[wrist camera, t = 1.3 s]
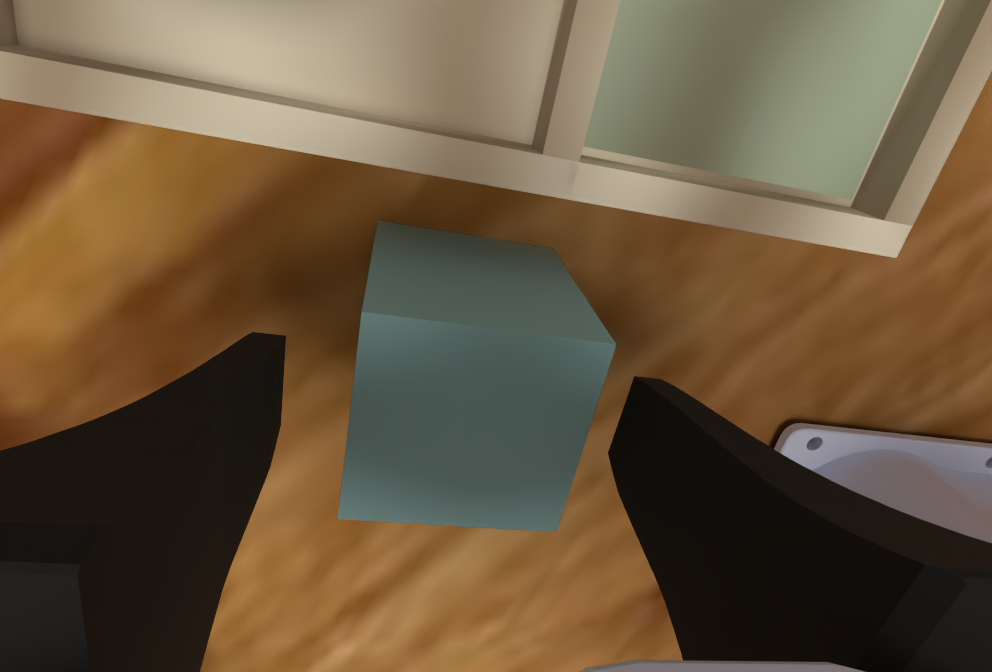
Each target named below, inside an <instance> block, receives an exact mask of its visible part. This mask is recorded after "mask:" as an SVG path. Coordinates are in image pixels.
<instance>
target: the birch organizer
mask: <svg viewBox="0 0 992 672" xmlns="http://www.w3.org/2000/svg"><path fill="white" fill-rule="evenodd" d="M991 71H992V0H0V98H1V99H6V100H12V101H17V102H23V103H29V104H34V105H40V106H45V107H51V108H57V109H62V110H68V111H74V112H79V113H85V114H90V115H96V116H102V117H107V118H113V119H118V120H124V121H130V122H135V123H141V124H147V125H152V126H158V127H163V128H169V129H175V130H180V131H186V132H191V133H197V134H203V135H208V136H214V137H220V138H225V139H231V140H236V141H242V142H248V143H253V144H259V145H264V146H270V147H276V148H281V149H287V150H293V151H298V152H304V153H309V154H315V155H321V156H326V157H332V158H337V159H343V160H349V161H354V162H360V163H366V164H371V165H377V166H382V167H388V168H394V169H399V170H405V171H410V172H416V173H422V174H427V175H433V176H439V177H444V178H450V179H455V180H461V181H467V182H472V183H478V184H483V185H489V186H495V187H500V188H506V189H512V190H517V191H523V192H528V193H534V194H540V195H545V196H551V197H556V198H562V199H568V200H573V201H579V202H585V203H590V204H596V205H601V206H607V207H613V208H618V209H624V210H629V211H635V212H641V213H646V214H652V215H658V216H663V217H669V218H674V219H680V220H686V221H691V222H697V223H702V224H708V225H714V226H719V227H725V228H731V229H736V230H742V231H747V232H753V233H759V234H764V235H770V236H775V237H781V238H787V239H792V240H798V241H804V242H809V243H815V244H820V245H826V246H832V247H837V248H843V249H848V250H854V251H860V252H865V253H871V254H877V255H882V256H888V257H893V258H897V256H898V254H899V252H900V250H901V248H902V246H903V244H904V242H905V240H906V238H907V236H908V234H909V232H910V230H911V228H912V226H913V224H914V222H915V220H916V218H917V216H918V214H919V213H920V211H921V209H922V207H923V205H924V203H925V201H926V199H927V197H928V195H929V193H930V191H931V189H932V187H933V185H934V183H935V181H936V179H937V177H938V175H939V173H940V171H941V169H942V167H943V165H944V163H945V161H946V159H947V157H948V156H949V154H950V152H951V150H952V148H953V146H954V144H955V142H956V140H957V138H958V136H959V134H960V132H961V130H962V128H963V126H964V124H965V122H966V120H967V118H968V116H969V114H970V112H971V110H972V108H973V106H974V104H975V102H976V100H977V98H978V97H979V95H980V93H981V91H982V89H983V87H984V85H985V83H986V81H987V79H988V77H989V75H990V73H991Z"/></svg>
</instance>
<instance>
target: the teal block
mask: <svg viewBox="0 0 992 672" xmlns="http://www.w3.org/2000/svg"><path fill="white" fill-rule="evenodd" d="M615 348H616V343H615V342H614V340H613V339H612V337H611V336H610V334H609V333H608V331H607V330H606V328H605V326H604V325H603V323H602V322H601V320H600V319H599V317H598V316H597V314H596V313H595V311H594V310H593V308H592V307H591V305H590V304H589V302H588V301H587V299H586V298H585V296H584V295H583V293H582V292H581V290H580V289H579V287H578V286H577V284H576V283H575V281H574V280H573V278H572V277H571V275H570V274H569V272H568V271H567V269H566V268H565V266H564V265H563V263H562V262H561V260H560V259H559V257H558V256H557V254H556V253H555V251H554V250H553V248H548V247H541V246H535V245H529V244H523V243H516V242H510V241H504V240H498V239H492V238H485V237H479V236H473V235H467V234H460V233H454V232H448V231H442V230H435V229H429V228H423V227H417V226H410V225H404V224H398V223H392V222H385V221H379V220H378V222H377V228H376V234H375V239H374V245H373V251H372V256H371V262H370V267H369V273H368V279H367V284H366V290H365V295H364V301H363V307H362V313H361V321H360V330H359V339H358V347H357V356H356V365H355V373H354V382H353V391H352V399H351V408H350V417H349V425H348V434H347V443H346V451H345V460H344V469H343V477H342V486H341V494H340V503H339V512H338V519H346V520H363V521H379V522H396V523H412V524H429V525H446V526H462V527H479V528H496V529H512V530H529V531H546V532H556V531H557V528H558V525H559V522H560V519H561V516H562V512H563V509H564V506H565V503H566V500H567V497H568V494H569V491H570V488H571V484H572V481H573V478H574V475H575V472H576V469H577V466H578V463H579V460H580V456H581V453H582V450H583V447H584V444H585V441H586V438H587V435H588V432H589V428H590V425H591V422H592V419H593V416H594V413H595V410H596V407H597V404H598V400H599V397H600V394H601V391H602V388H603V385H604V382H605V379H606V376H607V372H608V369H609V366H610V363H611V360H612V357H613V354H614V351H615Z"/></svg>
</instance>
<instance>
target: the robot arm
mask: <svg viewBox="0 0 992 672" xmlns="http://www.w3.org/2000/svg"><path fill="white" fill-rule="evenodd" d="M285 341H286V336H282V335H273V334H264V333H256V332H252V333H250V334H248V335H247V336H245V337H243V338H242V339H240V340H239V341H237V342H236V343H234V344H233V345H232V346H230V347H229V348H227V349H226V350H224V351H223V352H221V353H219V354H218V355H216V356H215V357H213V358H212V359H210V360H209V361H207V362H205V363H204V364H202V365H201V366H199V367H197V368H196V369H194V370H193V371H191V372H189V373H188V374H186V375H184V376H182V377H180V378H179V379H177V380H175V381H173V382H171V383H170V384H168V385H166V386H164V387H162V388H161V389H159V390H157V391H155V392H153V393H151V394H150V395H148V396H146V397H144V398H142V399H140V400H138V401H135V402H133V403H131V404H129V405H127V406H125V407H122V408H120V409H118V410H115V411H113V412H111V413H108V414H106V415H104V416H101V417H99V418H97V419H94V420H92V421H89V422H87V423H84V424H81V425H78V426H75V427H72V428H69V429H67V430H64V431H61V432H58V433H55V434H52V435H49V436H46V437H43V438H41V439H38V440H35V441H32V442H29V443H26V444H22V445H19V446H16V447H12V448H9V449H5V450H2V451H0V672H200V669H201V665H202V661H203V658H204V654H205V650H206V647H207V643H208V639H209V636H210V632H211V629H212V625H213V622H214V618H215V614H216V611H217V607H218V604H219V600H220V597H221V593H222V590H223V587H224V584H225V581H226V578H227V575H228V572H229V570H230V567H231V564H232V562H233V559H234V557H235V554H236V552H237V549H238V547H239V544H240V542H241V539H242V537H243V534H244V532H245V529H246V527H247V524H248V522H249V519H250V517H251V514H252V512H253V509H254V507H255V504H256V502H257V499H258V497H259V494H260V492H261V489H262V487H263V484H264V482H265V479H266V477H267V474H268V472H269V469H270V466H271V462H272V458H273V454H274V450H275V446H276V442H277V438H278V434H279V430H280V426H281V411H282V394H283V376H284V359H285ZM812 438H813V440H812V441H810V442H809V440H811V439H812ZM608 455H609V459H610V463H611V467H612V471H613V475H614V479H615V482H616V486H617V489H618V493H619V495H620V498H621V500H622V503H623V505H624V507H625V510H626V512H627V514H628V517H629V519H630V521H631V524H632V526H633V528H634V530H635V533H636V535H637V537H638V539H639V542H640V544H641V546H642V548H643V551H644V553H645V555H646V558H647V560H648V562H649V564H650V567H651V569H652V571H653V573H654V576H655V578H656V580H657V582H658V585H659V588H660V590H661V593H662V595H663V598H664V600H665V603H666V606H667V609H668V612H669V616H670V619H671V622H672V625H673V628H674V631H675V634H676V638H677V641H678V644H679V647H680V651H681V654H682V658H683V661H675V660H631V661H625V662H619V663H613V664H607V665H601V666H595V667H589V668H586V669H584V670H582V671H580V672H992V444H990V443H981V442H972V441H963V440H953V439H944V438H935V437H926V436H916V435H907V434H898V433H889V432H879V431H870V430H861V429H852V428H842V427H833V426H824V425H815V424H806V423H795V424H793V425H790V426H788V427H787V428H786V429H784V431H783V432H782V434H781V435H780V437H779V440H778V442H777V444H776V446H775V448H774V449H773V448H771V447H769V446H768V445H766V444H764V443H762V442H761V441H759V440H758V439H756V438H754V437H753V436H751V435H750V434H748V433H746V432H745V431H743V430H742V429H740V428H739V427H737V426H736V425H734V424H732V423H731V422H729V421H728V420H726V419H725V418H723V417H722V416H720V415H719V414H717V413H716V412H714V411H713V410H711V409H710V408H708V407H707V406H705V405H704V404H702V403H701V402H699V401H697V400H696V399H694V398H693V397H691V396H690V395H688V394H686V393H685V392H683V391H682V390H680V389H678V388H677V387H675V386H673V385H671V384H669V383H667V382H665V381H663V380H661V379H654V378H645V377H636V376H634V379H633V382H632V385H631V388H630V391H629V394H628V397H627V400H626V402H625V405H624V408H623V411H622V414H621V417H620V420H619V423H618V426H617V428H616V431H615V434H614V437H613V440H612V443H611V446H610V449H609V452H608Z"/></svg>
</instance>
